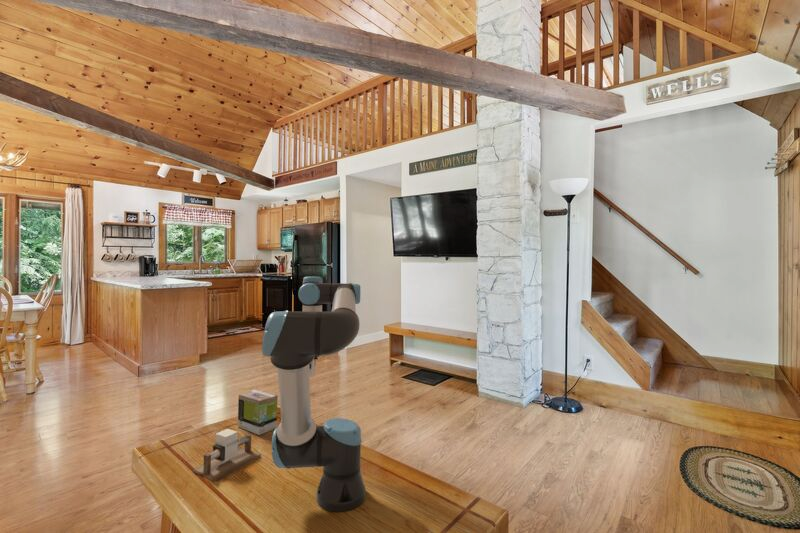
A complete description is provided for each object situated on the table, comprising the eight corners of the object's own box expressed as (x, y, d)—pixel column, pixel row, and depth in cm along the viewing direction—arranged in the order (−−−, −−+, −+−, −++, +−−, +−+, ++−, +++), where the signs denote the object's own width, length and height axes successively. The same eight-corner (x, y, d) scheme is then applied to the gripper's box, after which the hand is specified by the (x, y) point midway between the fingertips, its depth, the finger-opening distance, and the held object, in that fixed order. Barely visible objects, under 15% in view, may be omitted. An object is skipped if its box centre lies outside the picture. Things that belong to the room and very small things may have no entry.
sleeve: (237, 455, 138) (237, 431, 138) (225, 461, 134) (225, 437, 134) (226, 451, 141) (227, 428, 141) (214, 457, 136) (215, 433, 136)
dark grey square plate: (224, 459, 134) (224, 446, 134) (221, 461, 133) (222, 448, 133) (215, 456, 136) (216, 443, 136) (212, 458, 135) (213, 445, 135)
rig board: (260, 456, 144) (261, 437, 144) (216, 481, 127) (217, 460, 127) (238, 449, 149) (238, 430, 149) (193, 472, 132) (193, 451, 132)
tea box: (277, 427, 170) (278, 394, 170) (258, 436, 161) (259, 401, 161) (256, 419, 178) (256, 388, 178) (236, 427, 169) (237, 394, 169)
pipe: (249, 443, 145) (249, 435, 145) (211, 462, 130) (212, 454, 130) (243, 441, 146) (243, 434, 146) (206, 460, 132) (206, 452, 132)
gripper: (315, 313, 156) (313, 371, 156) (293, 317, 145) (291, 379, 145) (330, 315, 153) (328, 373, 153) (308, 318, 141) (307, 382, 141)
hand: (310, 376), depth 149 cm, fingers closed
